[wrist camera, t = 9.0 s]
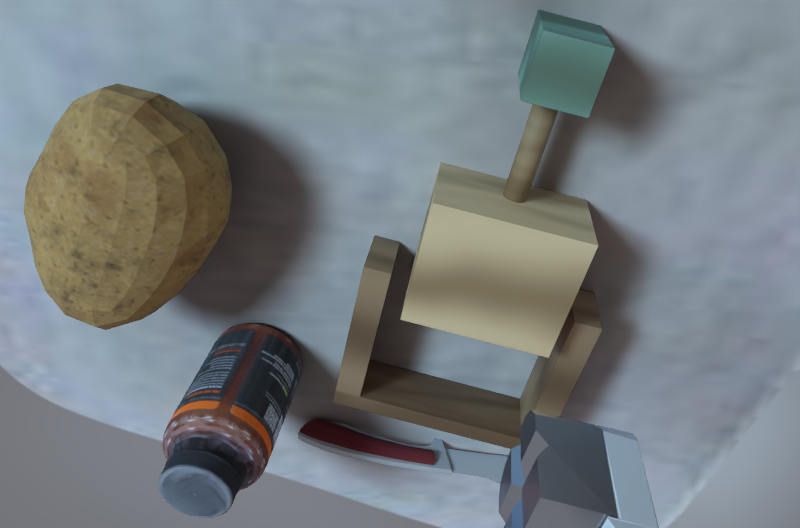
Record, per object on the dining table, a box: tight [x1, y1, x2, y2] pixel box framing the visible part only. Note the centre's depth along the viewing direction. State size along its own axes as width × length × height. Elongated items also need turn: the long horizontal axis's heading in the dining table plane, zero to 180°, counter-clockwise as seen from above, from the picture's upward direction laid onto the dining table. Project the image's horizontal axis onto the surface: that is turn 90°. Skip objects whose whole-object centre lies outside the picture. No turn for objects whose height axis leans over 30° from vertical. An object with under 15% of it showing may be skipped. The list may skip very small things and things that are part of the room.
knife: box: [298, 418, 508, 483], centre depth 44 cm, size 20×1×3 cm, turn 85°
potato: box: [24, 84, 232, 330], centre depth 34 cm, size 10×14×8 cm
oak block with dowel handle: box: [400, 10, 615, 358], centre depth 33 cm, size 16×8×5 cm, turn 168°
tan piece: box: [333, 236, 602, 449], centre depth 39 cm, size 10×13×4 cm
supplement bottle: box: [159, 323, 302, 518], centre depth 39 cm, size 6×6×11 cm
